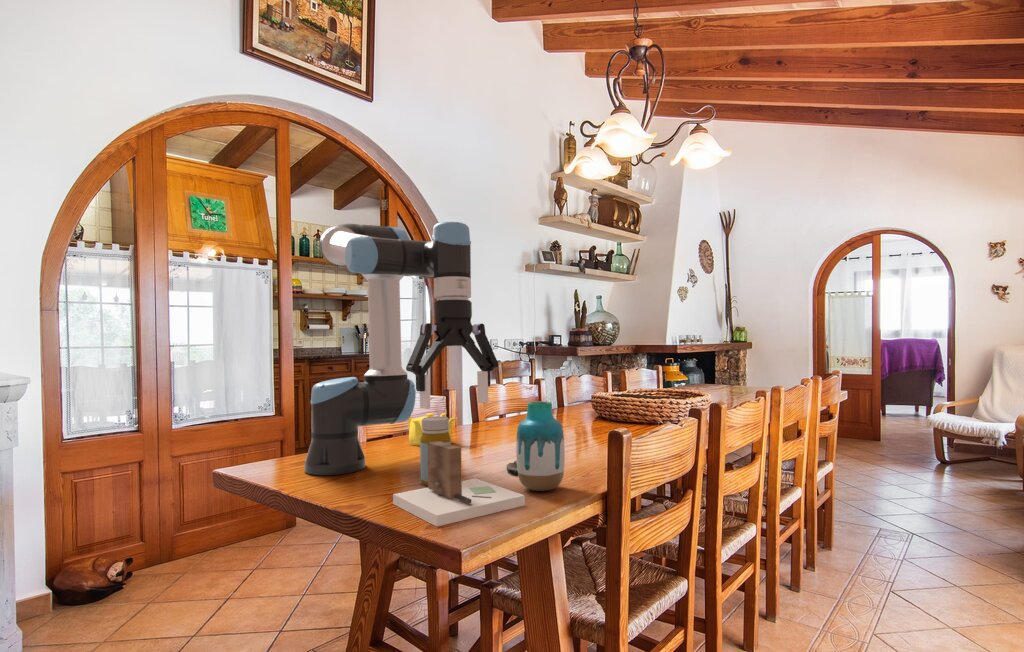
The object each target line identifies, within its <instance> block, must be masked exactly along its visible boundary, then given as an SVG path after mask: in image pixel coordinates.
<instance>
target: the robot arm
mask: <svg viewBox="0 0 1024 652" xmlns="http://www.w3.org/2000/svg"><path fill="white" fill-rule="evenodd" d="M431 239H432V240H430V241H429V240H427V241H426V240H415V239H413V240H411V239H410V237H409V235H408V233H407V232H406V231H405V230H404V229H402V228H401V227H393V226H390V225H387V226H386V225H373V224H358V223H341V224H337V225H335V226H331V227H329V228H328V229H326V230H325V231H324V232H323V234H322V235H321V237H320V239H319V251H320V252H321V255H322V256H323V258H324V259H325V260H327V261H328V262H329V263H331V264H334V265H337V266H343V267H346V268H347V270H348V271H349V272H350V273H353V274H361V276H362V277H363V278H364V280H366V281H367V296H368V297H367V298H368V299H367V301H368V302H367V303H368V305H367V306H368V308H367V309H368V350H369V352H368V355H369V357H368V359H369V368H368V370H367V371H366V372H365V374H363V381H362V382H361V381H359V379H358V378H357V377H355V376H349V377H348V376H347V377H341V378H339V377H338V378H333V379H329V380H325V381H320V382H318V383H315V384H314V385H313V386H312V388H311V393H310V394H311V395H310V405H311V406H310V407H311V410H310V411H311V413H310V414H311V415H310V416H311V420H310V421H311V441H310V444H309V447H308V451H307V454H306V457H305V460H304V472H305V473H306V474H307V475H314V476H335V475H336V476H337V475H344V474H351V473H355V472H358V471H359V472H360V471H361V470H363V469H365V467H366V457H365V454H364V450H363V448H362V445H361V443H360V440H359V427H365V426H375V425H377V426H378V425H387V424H389V425H390V424H391V425H394V424H398V423H403V422H406V421H408V419H409V417H411V415H412V414H413V411H414V409H415V404H416V395H417V394H416V392H419V408H420V409H424V410H430V409H431V387H430V386H431V385H430V384H431V376H430V374H426V373H427V372H428V370H429V369H430V367H431V366H432V365H433V363H434V362H435V361H436V359H437V358H438V355H440V353H441V352H442V350H443V349H444V348H446V347H460V346H462V348H464V350H465V351H466V352H467V353H468V354H469V356H470V357H471V359H472V360H473V361H474V363H475V364H476V365H477V367H478V368H479V370H478V371H476V374H477V375H476V376H477V377H476V379H477V381H476V383H477V403H480V404H489V387H490V386H491V371H494V368H498V367H499V362H498V360H497V357H496V356H495V353H494V350H493V349H492V345H491V343H490V341H489V339H488V337H487V334H486V327H485V324H484V323H475V324H472V321H471V320H472V317H473V306H472V305H473V304H472V302H471V300H469V299H470V298H471V297H472V276H471V275H472V271H471V269H472V268H471V267H472V263H471V250H472V249H471V244H472V241H471V235H470V227H469V226H468V225H467V224H466V223H463V222H460V221H459V222H458V221H442V222H437V223H435V224H434V226H433V228H432V235H431ZM405 276H409V277H410V276H412V277H413V276H414V277H420V278H421V279H433V298H434V299H436V300H435V302H433V307H434V308H433V309H434V312H433V313H434V319H435V321H434V324H431V323H421V324H420V331H419V337H418V338H417V341H416V343H415V344H414V348H413V349H412V352H411V355H410V358H409V360H408V362H407V365H406V367H405V369H403V367H402V363H403V362H402V331H401V329H402V325H401V322H402V321H401V290H400V288H401V286H400V284H401V283H400V282H401V280H402V279H403V278H404V277H405ZM434 333H435V335H436V338H435V339H434V340H433V342H432V343H431V345H430V348H428V345H429V343H430V340H431V337H432V335H433V334H434ZM471 334H473V335H474V339H475V340H476V342H475V340H474V339H473V338H472V336H471ZM476 343H477V345H478V347H477V345H476ZM427 348H428V349H429V350H427ZM426 350H427V352H426ZM425 352H426V353H425ZM408 372H409V373H412V374H413V375H415V382H414V381H413V380H412V379H410V378H408Z"/></svg>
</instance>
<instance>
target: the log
mask: <svg viewBox="0 0 1024 652" xmlns="http://www.w3.org/2000/svg"><path fill="white" fill-rule="evenodd" d="M506 472H507V474H508V475H511V476H515V477H519V476H518V470H517V459H516V460H514V461H513V462H510V463H507V464H506Z"/></svg>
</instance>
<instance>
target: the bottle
mask: <svg viewBox="0 0 1024 652" xmlns="http://www.w3.org/2000/svg"><path fill="white" fill-rule="evenodd" d="M449 420H450V418H449V417H447V416H444V417H440V416H433V417H427V418H423V419H422V432H423V433H422V436H421V439H420V446H419V447H420V453H419V454H420V455H419V456H420V483H422V485H423V486H426V487H428V443H429V442H436V441H440V442H444V443H447V444H451V445H452V440H451V439H452V437H451V438H450V435H449V432H448V431H449V428H448V427H449Z"/></svg>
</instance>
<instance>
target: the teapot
mask: <svg viewBox="0 0 1024 652" xmlns="http://www.w3.org/2000/svg"><path fill="white" fill-rule="evenodd" d="M446 414H447V413H446V412H444V413H443V412H442V413H441V414H440V415H439V417H446ZM427 417H434V413H432V412H431V413H429V412H428V413H425V415H424V416H420V417H415V418H412V417H411V416H410V417H409V419H408V420H407V424H408V426H407V427H408V430H409V431H408V443H409V445H410V446H415V447H420V439H421V436H422V433H423V432H422V419H423V418H427ZM457 419H458V417H451V418H449V427H448V428H449V431H448V432H449V435H450V438H451V439H452V431H453V424H454V422H455V420H457Z"/></svg>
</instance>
